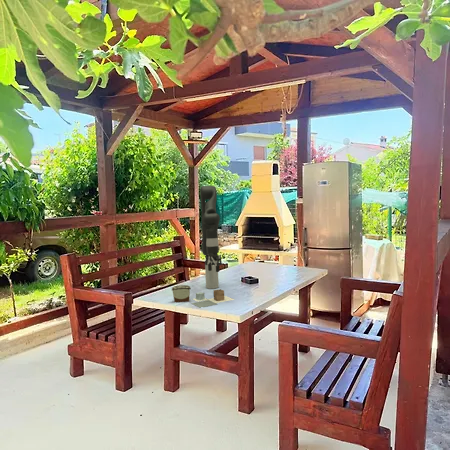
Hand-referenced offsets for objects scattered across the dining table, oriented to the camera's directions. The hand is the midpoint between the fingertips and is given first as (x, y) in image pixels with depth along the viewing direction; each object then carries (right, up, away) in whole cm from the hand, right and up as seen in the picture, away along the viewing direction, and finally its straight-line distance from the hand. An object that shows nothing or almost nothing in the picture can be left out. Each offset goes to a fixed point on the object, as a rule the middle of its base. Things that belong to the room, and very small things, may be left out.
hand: (213, 271), depth 241 cm
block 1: (-9, -19, +9) cm, 23 cm away
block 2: (+3, -19, +5) cm, 20 cm away
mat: (-6, -20, -3) cm, 21 cm away
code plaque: (+3, -19, +5) cm, 20 cm away
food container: (-20, -20, +7) cm, 30 cm away
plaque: (-9, -19, +9) cm, 23 cm away
